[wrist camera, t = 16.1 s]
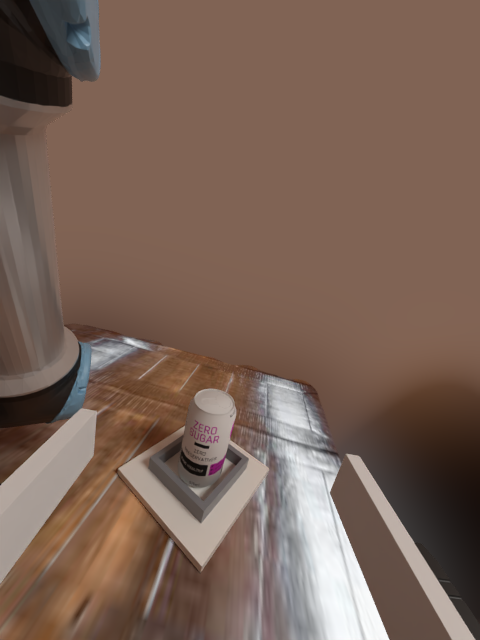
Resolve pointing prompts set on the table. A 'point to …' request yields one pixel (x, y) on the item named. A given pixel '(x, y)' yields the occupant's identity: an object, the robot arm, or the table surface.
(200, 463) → the supplement can
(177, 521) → the socket board
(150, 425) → the table surface
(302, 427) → the table surface
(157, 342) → the table surface
